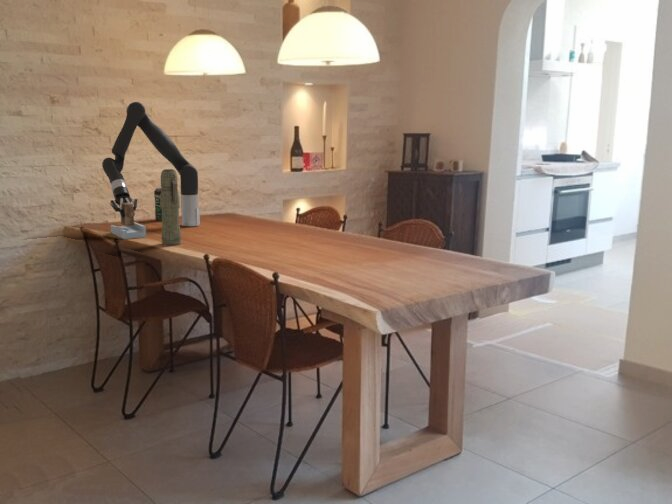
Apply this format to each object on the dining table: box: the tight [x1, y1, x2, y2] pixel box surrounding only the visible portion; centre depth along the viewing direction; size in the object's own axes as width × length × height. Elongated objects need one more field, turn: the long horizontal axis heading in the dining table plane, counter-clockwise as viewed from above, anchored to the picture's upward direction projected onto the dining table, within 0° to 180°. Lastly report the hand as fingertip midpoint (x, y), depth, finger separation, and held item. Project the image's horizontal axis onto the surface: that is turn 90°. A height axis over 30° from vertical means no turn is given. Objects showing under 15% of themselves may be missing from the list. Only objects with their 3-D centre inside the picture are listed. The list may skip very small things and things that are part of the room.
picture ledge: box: [110, 221, 147, 240], centre depth 343 cm, size 11×22×6 cm, turn 34°
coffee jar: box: [153, 187, 162, 222], centre depth 391 cm, size 10×8×19 cm
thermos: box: [160, 168, 182, 247], centre depth 317 cm, size 9×12×35 cm
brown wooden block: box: [120, 202, 135, 227], centre depth 341 cm, size 4×8×11 cm, turn 34°
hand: (128, 216), depth 340 cm, fingers closed on brown wooden block, 4 cm apart
